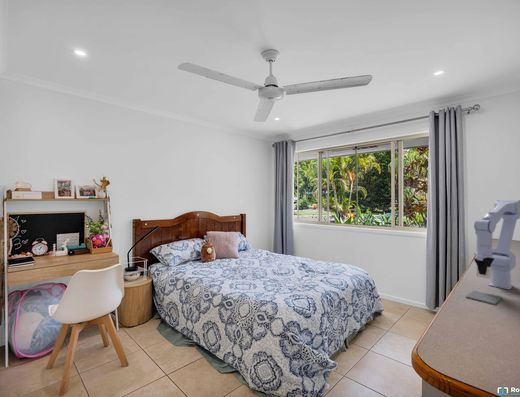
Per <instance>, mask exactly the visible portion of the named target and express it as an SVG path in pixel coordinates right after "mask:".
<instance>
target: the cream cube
mask: <svg viewBox="0 0 520 397" xmlns="http://www.w3.org/2000/svg"><path fill="white" fill-rule="evenodd" d="M476 277H479V278H484V279H491V267H487V271H486V274H485V275H482V274H479V270H478V266H477V265H476Z"/></svg>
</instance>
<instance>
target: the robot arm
mask: <svg viewBox="0 0 520 397" xmlns="http://www.w3.org/2000/svg"><path fill="white" fill-rule="evenodd" d="M501 219H503V221H502V225H501V229H500V231H499V232H500V233H499V237H498V241H497V245H496V248H493V233H494V232H495V230H496V227H497V224H498V223H499V222H500V221H501ZM519 219H520V200H512V199H511V200H507V199H506V200H503V199H502V200H501V199H497V200H496V201H495V202H494V207H493V209H492V211H488V212H487V213H486V214H485V215H484V216H483V217H482V218H481V219H477V220H475V222H474V224H473V227H474V228H473V229H474V230H475V232H474V233H475V235H476V252H473V255H474V256H476V258H474V259H473V260H474V262H475V264H476V267H477V266H478V270H479V274H482V275H485V274H486V271H487V267H491V277H490V283H488V286H491V287H495V288H500V289H505V290H511V289H512V288H513V287H514V284H512V272H511V271H512V270H514V269H515V267H516V264H517V263H516V262H517V261H516V259H517V258H516V255H515V254H514V253H513V252H512V251H511V247H512V242H513V237H514V234H515V229H516V228H515V227H516V225H517V220H519Z"/></svg>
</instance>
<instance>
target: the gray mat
mask: <svg viewBox="0 0 520 397" xmlns="http://www.w3.org/2000/svg"><path fill="white" fill-rule="evenodd" d="M465 298H466V299H470V300H473V299H474V300H473V301H477V302H481V303H484V304H485V303H486V304H490V305H493V306H496V305H497V304H498V303H499V302H500V301H501V300H502V299H503V297H502V296H500V295H494V294H490V293H486V292H482V291H477V290H473V291H471V292H469V293H468V294H467V295H466V296H465Z"/></svg>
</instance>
